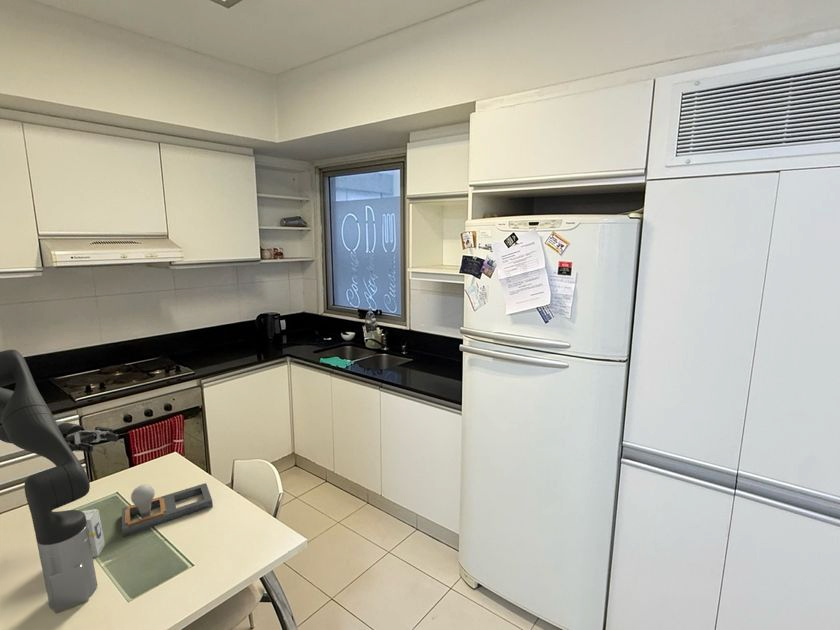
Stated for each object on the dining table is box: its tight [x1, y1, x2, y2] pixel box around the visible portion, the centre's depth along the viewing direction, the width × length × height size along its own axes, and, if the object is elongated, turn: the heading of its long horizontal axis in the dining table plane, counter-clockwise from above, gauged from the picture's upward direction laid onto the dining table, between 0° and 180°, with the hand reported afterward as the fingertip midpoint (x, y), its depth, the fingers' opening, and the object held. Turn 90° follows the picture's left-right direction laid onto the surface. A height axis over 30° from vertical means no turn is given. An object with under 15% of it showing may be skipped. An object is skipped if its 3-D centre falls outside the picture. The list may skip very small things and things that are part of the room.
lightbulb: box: [130, 484, 156, 519], centre depth 132 cm, size 6×6×11 cm
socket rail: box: [121, 482, 214, 538], centre depth 136 cm, size 12×24×3 cm, turn 125°
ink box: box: [81, 508, 106, 558], centre depth 117 cm, size 9×5×12 cm, turn 105°
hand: (105, 443), depth 129 cm, fingers open, 8 cm apart
